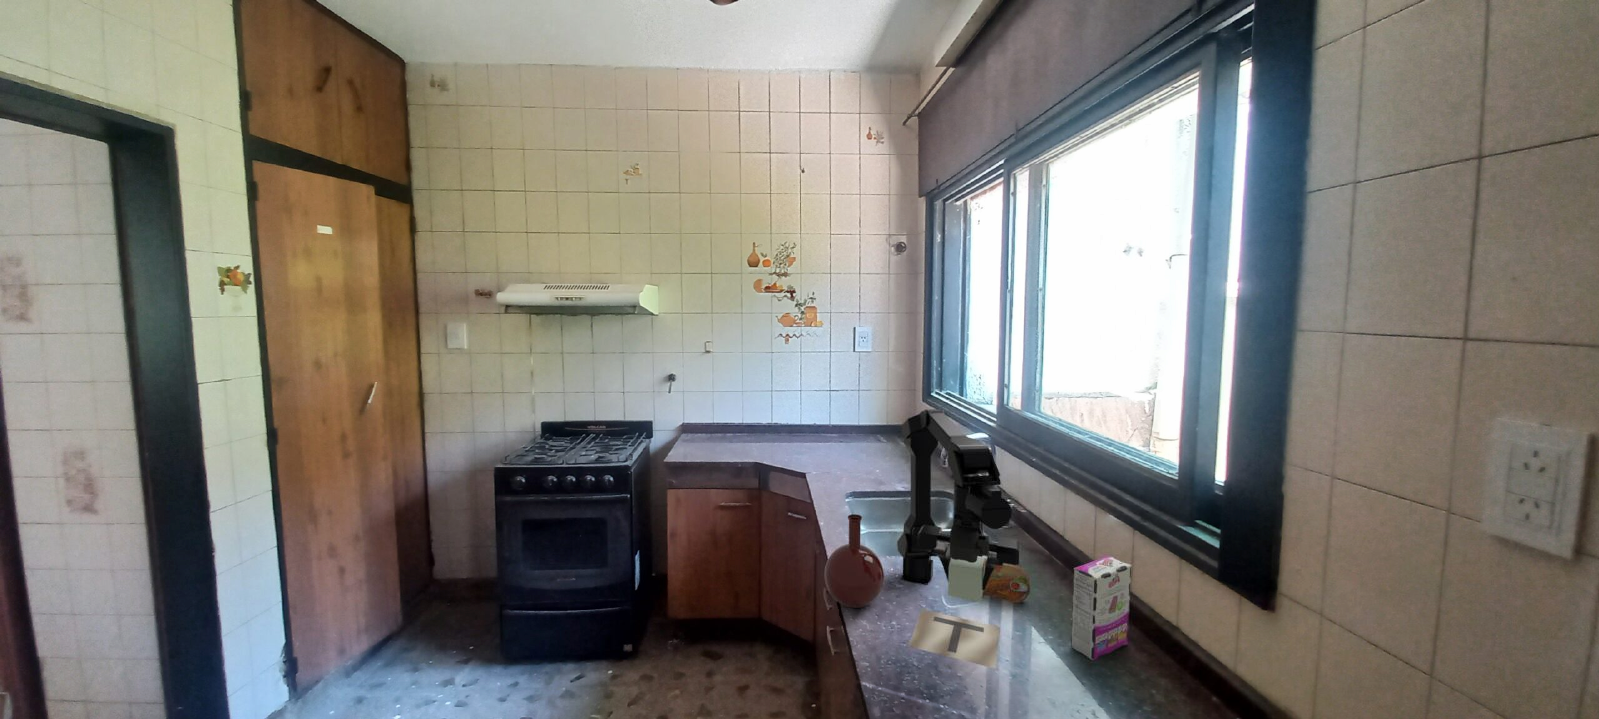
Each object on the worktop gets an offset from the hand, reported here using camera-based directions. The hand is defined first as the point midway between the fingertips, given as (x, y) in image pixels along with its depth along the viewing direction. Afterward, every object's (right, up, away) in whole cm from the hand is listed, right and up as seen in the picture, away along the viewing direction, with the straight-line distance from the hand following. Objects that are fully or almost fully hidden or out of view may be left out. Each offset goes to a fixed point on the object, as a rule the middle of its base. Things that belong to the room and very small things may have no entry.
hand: (966, 585), depth 104 cm
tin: (+12, -11, +18) cm, 24 cm away
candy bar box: (+26, -12, 0) cm, 29 cm away
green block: (0, -1, 0) cm, 1 cm away
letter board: (-1, -12, +3) cm, 12 cm away
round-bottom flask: (-20, -11, +15) cm, 28 cm away
